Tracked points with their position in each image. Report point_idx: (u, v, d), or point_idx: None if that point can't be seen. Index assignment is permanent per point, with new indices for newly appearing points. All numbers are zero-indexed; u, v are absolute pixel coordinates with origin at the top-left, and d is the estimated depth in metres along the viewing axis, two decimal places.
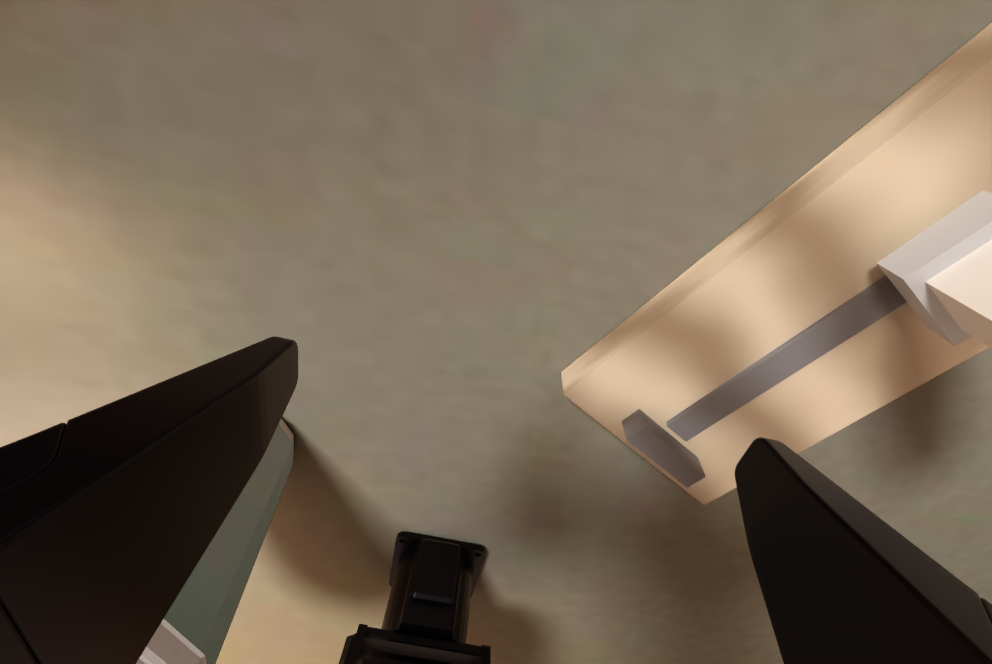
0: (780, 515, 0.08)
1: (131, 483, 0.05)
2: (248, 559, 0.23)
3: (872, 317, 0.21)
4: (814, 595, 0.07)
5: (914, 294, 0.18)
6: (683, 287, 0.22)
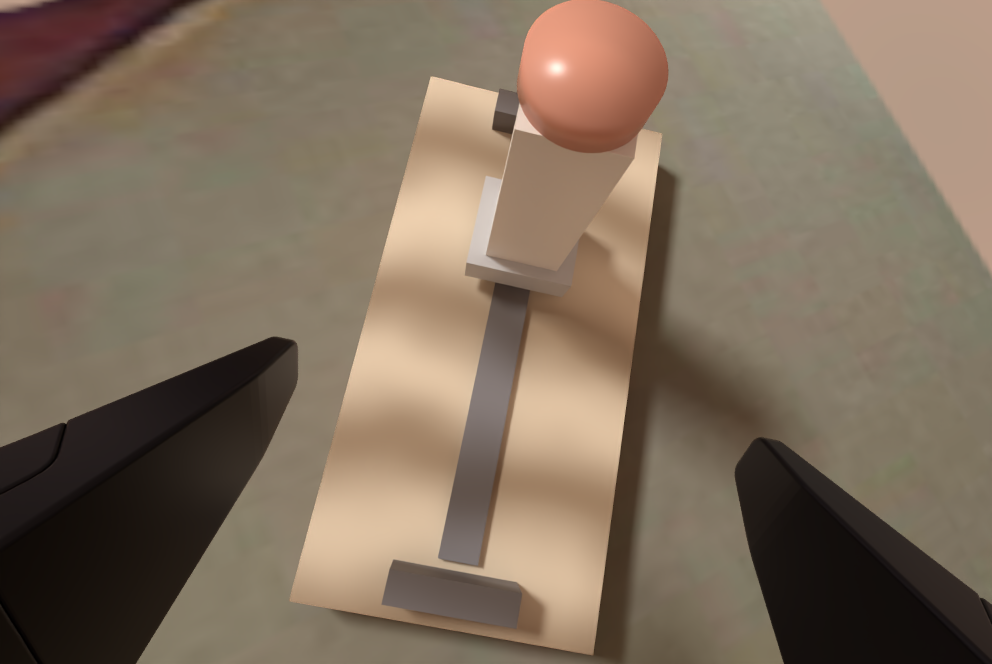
0: (780, 515, 0.08)
1: (131, 483, 0.05)
2: None
3: (517, 318, 0.21)
4: (814, 595, 0.07)
5: (490, 268, 0.19)
6: None
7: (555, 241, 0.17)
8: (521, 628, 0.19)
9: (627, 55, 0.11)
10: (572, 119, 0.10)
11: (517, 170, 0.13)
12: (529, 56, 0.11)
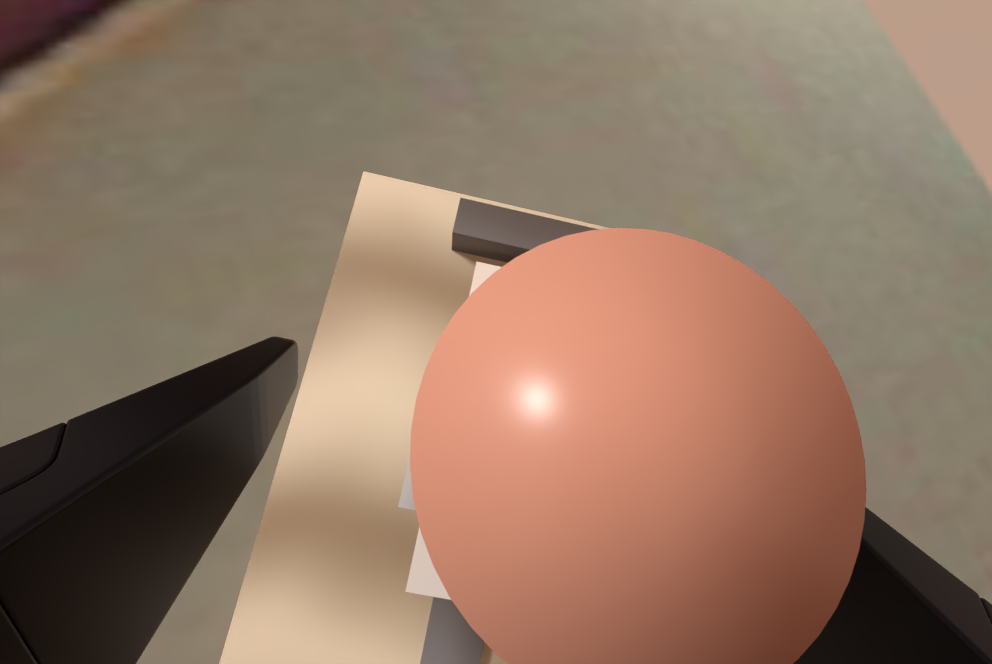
0: None
1: (131, 483, 0.05)
2: None
3: None
4: None
5: None
6: None
7: None
8: None
9: (738, 414, 0.04)
10: None
11: None
12: (431, 446, 0.03)
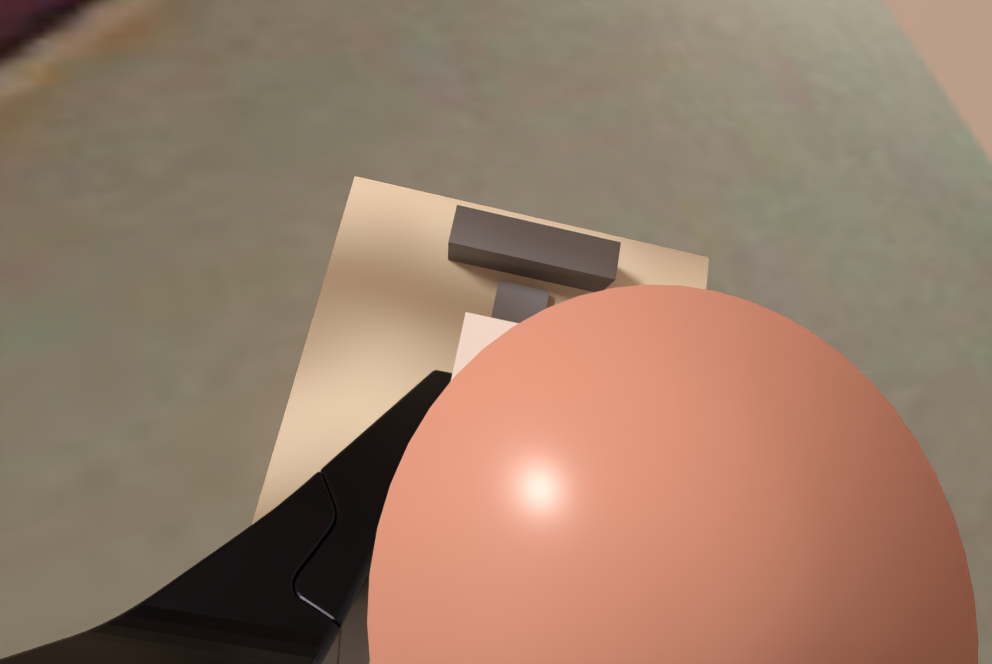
0: None
1: None
2: None
3: None
4: None
5: None
6: None
7: None
8: None
9: (808, 538, 0.03)
10: None
11: None
12: (397, 594, 0.02)
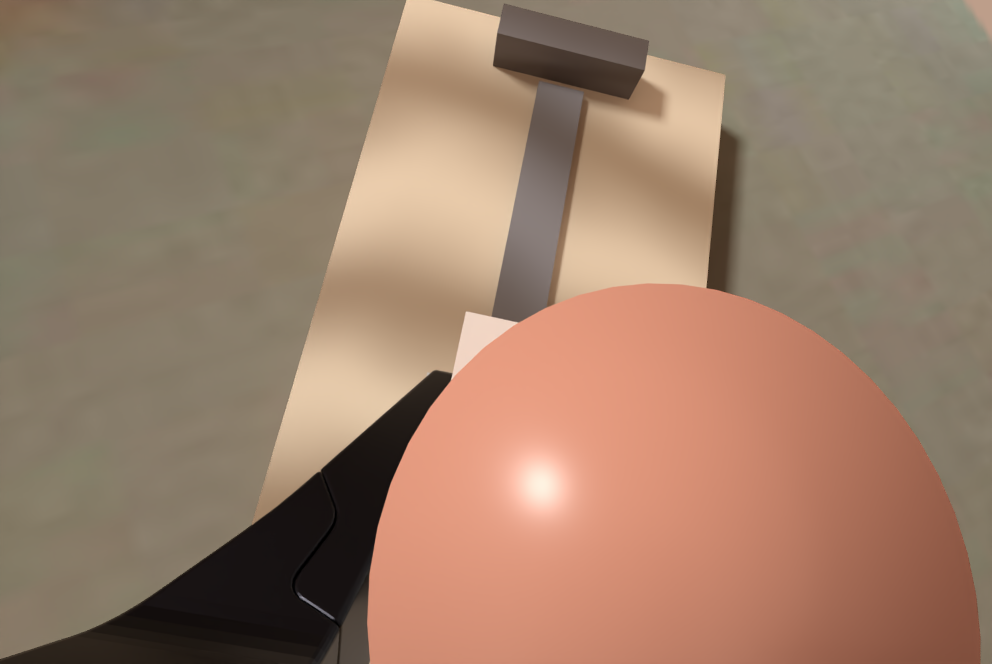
0: None
1: None
2: None
3: None
4: None
5: None
6: None
7: None
8: None
9: (809, 539, 0.03)
10: None
11: None
12: (397, 593, 0.02)
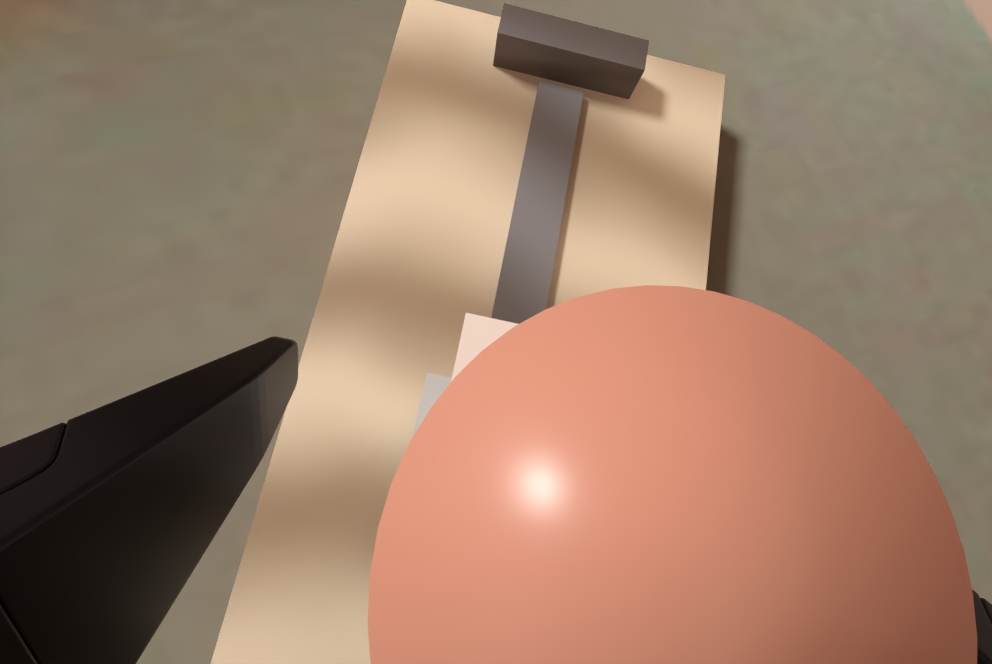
0: None
1: (131, 483, 0.05)
2: None
3: None
4: None
5: None
6: None
7: None
8: None
9: (808, 538, 0.03)
10: None
11: None
12: (397, 593, 0.02)
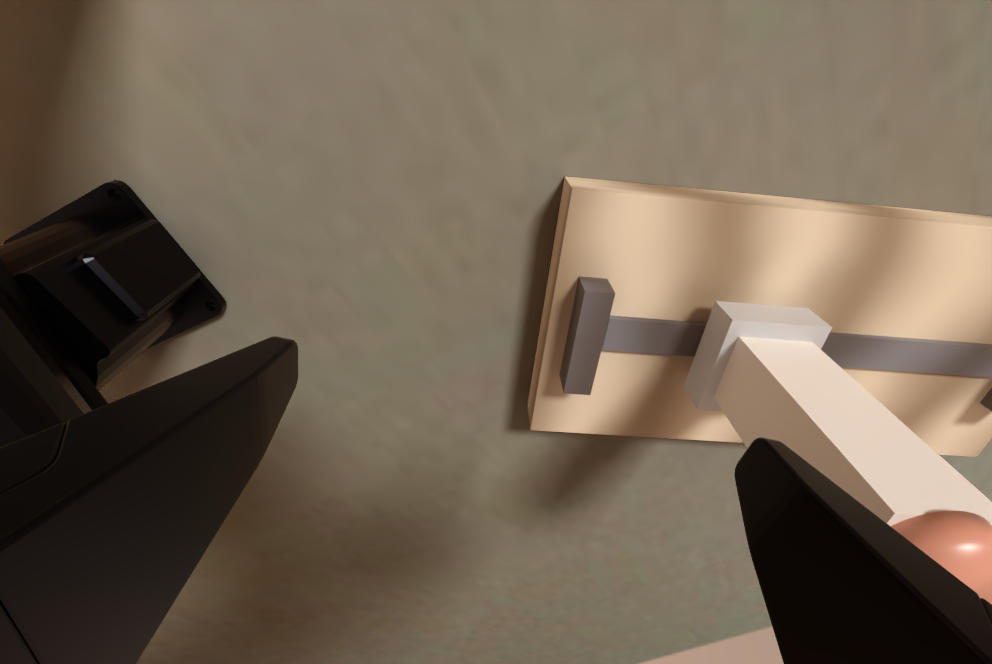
0: (780, 515, 0.08)
1: (131, 483, 0.05)
2: None
3: None
4: (814, 595, 0.07)
5: (723, 341, 0.19)
6: (761, 200, 0.19)
7: (750, 429, 0.17)
8: (548, 382, 0.22)
9: None
10: None
11: (842, 469, 0.13)
12: (977, 551, 0.11)
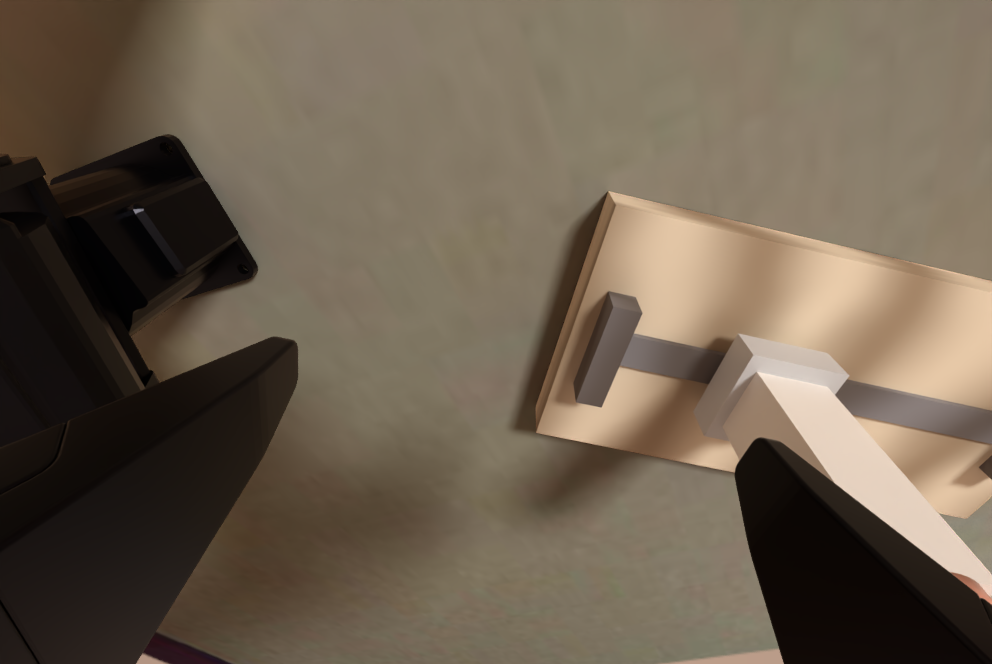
0: (780, 515, 0.08)
1: (131, 483, 0.05)
2: None
3: None
4: (814, 595, 0.07)
5: (740, 374, 0.19)
6: (798, 241, 0.19)
7: None
8: (561, 389, 0.23)
9: None
10: None
11: None
12: None
